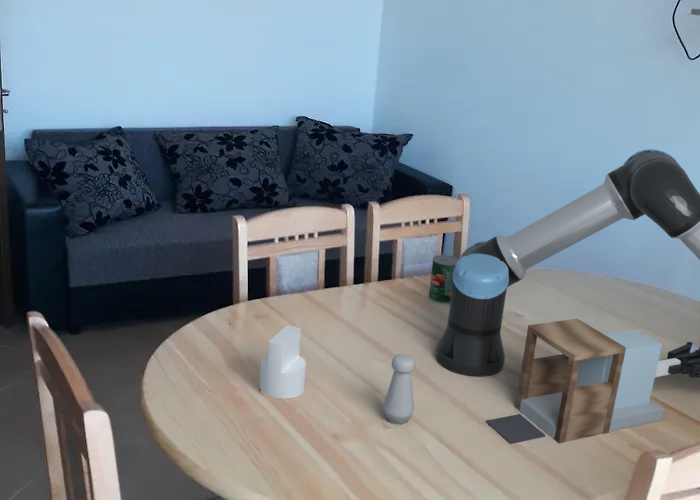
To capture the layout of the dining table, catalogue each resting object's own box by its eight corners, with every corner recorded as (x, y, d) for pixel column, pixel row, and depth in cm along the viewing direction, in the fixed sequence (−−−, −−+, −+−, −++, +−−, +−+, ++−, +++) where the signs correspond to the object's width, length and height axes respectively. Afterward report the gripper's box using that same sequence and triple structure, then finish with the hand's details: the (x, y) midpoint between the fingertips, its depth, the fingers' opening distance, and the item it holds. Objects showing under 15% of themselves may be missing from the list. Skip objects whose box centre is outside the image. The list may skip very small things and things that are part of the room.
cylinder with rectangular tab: (293, 404, 150) (296, 348, 146) (251, 393, 153) (253, 338, 149) (311, 384, 158) (315, 331, 155) (271, 374, 161) (274, 321, 157)
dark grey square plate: (519, 415, 153) (519, 413, 152) (545, 436, 146) (545, 435, 146) (485, 421, 149) (485, 420, 149) (510, 443, 142) (510, 442, 142)
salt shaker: (390, 429, 144) (396, 366, 140) (377, 413, 149) (383, 352, 145) (418, 424, 147) (425, 362, 142) (404, 409, 152) (410, 349, 147)
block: (624, 386, 162) (636, 329, 158) (649, 402, 156) (662, 343, 152) (571, 396, 156) (582, 337, 152) (595, 413, 150) (607, 352, 146)
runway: (615, 389, 166) (618, 379, 165) (662, 420, 155) (664, 409, 154) (516, 408, 155) (518, 397, 154) (558, 442, 144) (560, 430, 143)
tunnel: (562, 398, 160) (577, 318, 155) (608, 432, 149) (626, 347, 143) (515, 407, 155) (528, 325, 150) (559, 443, 144) (574, 355, 138)
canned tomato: (463, 299, 209) (468, 260, 206) (447, 306, 204) (451, 266, 200) (439, 290, 214) (444, 252, 211) (422, 297, 209) (427, 258, 205)
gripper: (756, 384, 164) (674, 401, 154) (706, 357, 175) (627, 371, 165) (764, 352, 161) (682, 367, 152) (713, 327, 173) (633, 339, 163)
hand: (653, 369), depth 158 cm, fingers closed
